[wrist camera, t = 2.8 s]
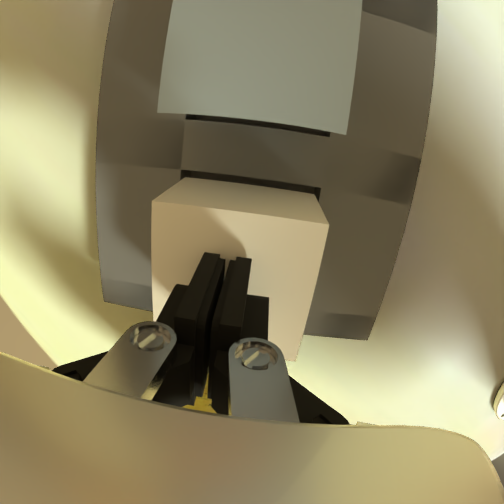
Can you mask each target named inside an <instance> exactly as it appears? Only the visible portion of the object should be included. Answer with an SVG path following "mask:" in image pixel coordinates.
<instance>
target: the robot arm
mask: <svg viewBox="0 0 504 504" xmlns="http://www.w3.org/2000/svg"><path fill="white" fill-rule="evenodd" d="M251 262H252V259H251V258H244V257H236V260H230V261H229V265H228V268H227V272H226V275H225V278H224V271H225V259H222V258H220V254H215V253H208V252H204V254H203V256H202V258H201V260H200V262H199V264H198V266H197V268H196V271H195V273H194V275H193V277H192V279H191V281H190V283H189V285H182V284H176V285H175V286H174V288H173V290H172V292H171V294H170V296H169V297H168V299H167V301H166V303H165V305H164V307H163V309H162V311H161V313H160V314H159V316H158V318H157V320H156V322H154V321H146V322H141V323H138V324H135V325H133V326H132V327H130V328H129V329H128V330H127V331H126V332H125V333H124V334H123V335H122V337H121V338H120V339H119V340H118V341H117V342H116V343H115V345H114V346H113V347H112V348H111V349H110V350H109V351H107V352H104V353H101V354H97V355H94V356H91V357H88V358H84V359H81V360H78V361H75V362H71V363H68V364H64V365H61V366H59V367H57V368H54V369H53V370H52V371H50V370H49V368H48V367H45V366H38V365H34V364H31V363H29V362H26V361H24V360H21V359H19V358H16V357H13V356H10V355H8V354H6V353H3V352H0V504H504V488H503V486H502V483H501V481H500V478H499V476H498V474H497V472H496V470H495V468H494V466H493V464H492V462H491V460H490V459H489V457H488V455H487V454H486V452H485V451H484V450H483V448H482V447H481V446H480V445H479V444H478V443H477V442H475V441H474V440H472V439H471V438H469V437H466V436H464V435H462V434H459V433H456V432H452V431H448V430H444V429H440V428H432V427H424V426H407V425H374V424H368V423H363V422H357V424H356V425H352V424H349V422H348V421H347V420H346V419H345V418H344V417H343V416H342V415H341V414H340V413H338V412H337V411H335V410H334V409H333V408H331V407H330V406H329V405H327V404H326V403H325V402H323V401H322V400H320V399H319V398H318V397H316V396H315V395H314V394H312V393H311V392H310V391H309V390H307V389H306V388H305V387H303V386H302V385H301V384H299V383H298V382H297V381H295V380H294V379H293V378H292V377H290V376H289V375H288V371H287V367H286V363H285V359H284V355H283V353H282V351H281V349H280V348H279V347H278V346H277V345H275V344H273V343H272V342H270V341H268V321H269V297H264V296H257V295H249V294H247V292H248V284H249V277H250V269H251ZM208 372H209V374H208ZM207 376H208V393H207V398H208V399H212V403H211V407H212V408H213V410H214V411H215V412H216V413H211V412H205V411H199V410H194V409H188V408H183V406H185V405H191V406H194V404H195V400H196V397H203V393H204V389H205V385H206V380H207ZM494 411H495V413H496V416H497V417H498V418H499V419H501V420H504V383H503V384H502V386H501V388H500V389H499V391H498V393H497V395H496V398H495V401H494Z"/></svg>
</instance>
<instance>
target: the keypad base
mask: <svg viewBox="0 0 504 504" xmlns="http://www.w3.org/2000/svg"><path fill="white" fill-rule="evenodd" d="M172 4H173V0H114V3H113V8H112V13H111V18H110V23H109V29H108V34H107V40H106V46H105V53H104V60H103V68H102V76H101V85H100V95H99V107H98V121H97V140H96V215H97V235H98V249H99V261H100V272H101V281H102V290H103V298H104V302H109V303H113V304H118V305H123V306H127V307H132V308H137V309H142V310H147V311H152V312H153V301H152V268H151V214H152V200H154V199H155V198H157V197H158V196H159V195H161V194H162V193H163V192H165V191H166V190H168V189H169V188H170V187H172V186H173V185H175V184H176V183H178V182H179V181H180V180H182V179H183V178H185V177H189V178H199V179H208V180H217V181H225V182H233V183H241V184H249V185H256V186H264V187H271V188H278V189H285V190H291V191H298V192H304V193H310V194H314V195H315V196H316V199H317V201H318V203H319V205H320V207H321V209H322V211H323V213H324V215H325V217H326V219H327V221H328V223H329V229H328V233H327V238H326V243H325V247H324V252H323V256H322V260H321V265H320V269H319V273H318V277H317V282H316V286H315V290H314V294H313V298H312V302H311V306H310V310H309V314H308V318H307V321H306V325H305V329H304V333H303V334H304V335H314V336H324V337H334V338H345V339H357V340H368V337H369V335H370V332H371V330H372V327H373V325H374V322H375V319H376V317H377V314H378V311H379V308H380V306H381V303H382V300H383V297H384V294H385V291H386V288H387V285H388V282H389V279H390V276H391V273H392V270H393V267H394V264H395V261H396V257H397V254H398V251H399V247H400V244H401V240H402V237H403V233H404V230H405V226H406V222H407V219H408V215H409V211H410V207H411V203H412V199H413V195H414V190H415V186H416V181H417V177H418V172H419V167H420V162H421V157H422V152H423V147H424V141H425V136H426V130H427V123H428V117H429V110H430V103H431V95H432V86H433V77H434V66H435V53H436V37H437V0H362V11H361V22H360V33H359V43H358V52H357V61H356V69H355V77H354V85H353V92H352V99H351V106H350V113H349V120H348V126H347V132H346V135H344V134H339V133H334V132H328V131H323V130H318V129H312V128H306V127H300V126H294V125H287V124H281V123H274V122H266V121H258V120H250V119H241V118H231V117H221V116H209V115H195V114H177V113H157V109H158V99H159V90H160V81H161V73H162V65H163V58H164V51H165V44H166V38H167V32H168V26H169V20H170V14H171V9H172Z"/></svg>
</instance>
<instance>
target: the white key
mask: <svg viewBox="0 0 504 504" xmlns="http://www.w3.org/2000/svg"><path fill="white" fill-rule="evenodd" d="M328 229H329V223H328V221H327V219H326V217H325V215H324V213H323V211H322V209H321V207H320V205H319V203H318V201H317V199H316V196H315V195H314V194H310V193H304V192H298V191H291V190H285V189H278V188H271V187H264V186H256V185H249V184H241V183H233V182H225V181H217V180H208V179H199V178H189V177H185V178H183V179H182V180H180V181H179V182H178V183H176V184H175V185H173V186H172V187H170V188H169V189H168V190H166V191H165V192H163V193H162V194H161V195H159V196H158V197H157V198H155V199H154V200H152V214H151V268H152V301H153V321H154V322H156V320H157V318H158V316H159V314H160V313H161V311H162V309H163V307H164V305H165V303H166V301H167V299H168V297H169V296H170V294H171V292H172V290H173V288H174V286H175V285H176V284H182V285H189V283H190V281H191V279H192V277H193V275H194V273H195V271H196V268H197V266H198V264H199V262H200V260H201V258H202V256H203V254H204V252H208V253H215V254H220V258H222V259H225V271H224V278H225V275H226V272H227V268H228V265H229V261H230V260H236V257H244V258H251V259H252V262H251V269H250V277H249V284H248V292H247V294H249V295H257V296H264V297H269V321H268V341H270V342H272V343H273V344H275V345H277V346H278V347H279V348H280V349H281V351H282V353H283V355H284V359H285V360H288V361H296V358H297V355H298V351H299V347H300V344H301V340H302V336H303V333H304V329H305V325H306V321H307V318H308V314H309V310H310V306H311V302H312V298H313V294H314V290H315V286H316V282H317V277H318V273H319V269H320V265H321V260H322V256H323V252H324V247H325V243H326V238H327V233H328Z"/></svg>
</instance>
